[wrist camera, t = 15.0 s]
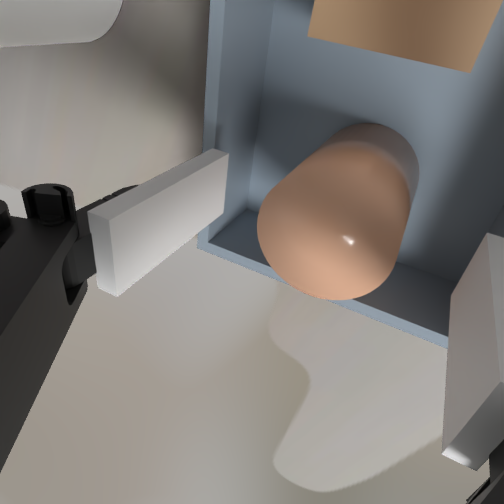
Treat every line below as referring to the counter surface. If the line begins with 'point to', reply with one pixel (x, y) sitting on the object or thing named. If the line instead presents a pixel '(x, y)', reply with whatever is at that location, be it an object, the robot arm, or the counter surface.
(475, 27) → the walnut cube
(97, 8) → the container
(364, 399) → the counter surface
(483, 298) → the robot arm
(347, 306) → the tote
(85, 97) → the counter surface
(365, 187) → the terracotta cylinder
